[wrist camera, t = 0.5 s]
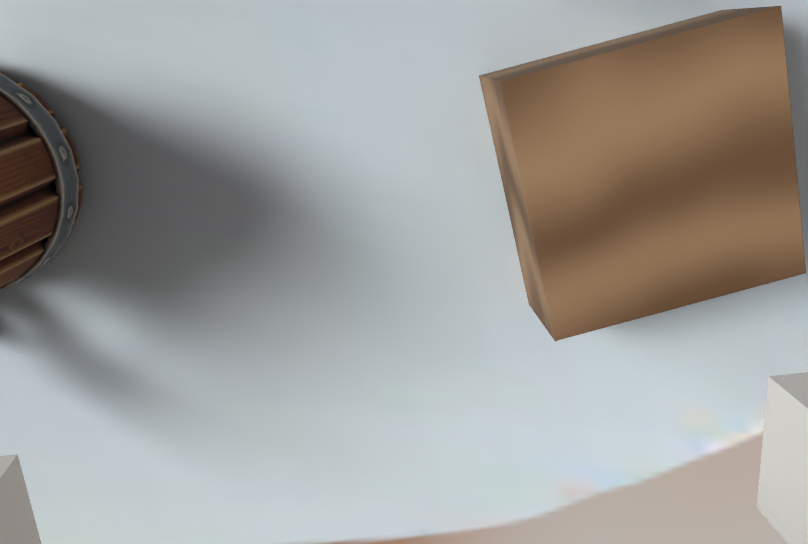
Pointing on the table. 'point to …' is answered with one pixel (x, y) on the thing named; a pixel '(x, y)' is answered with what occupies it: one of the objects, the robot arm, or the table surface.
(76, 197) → the mug
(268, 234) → the table surface
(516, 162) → the walnut block
